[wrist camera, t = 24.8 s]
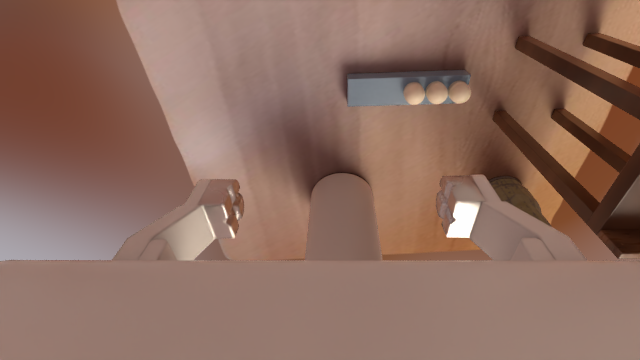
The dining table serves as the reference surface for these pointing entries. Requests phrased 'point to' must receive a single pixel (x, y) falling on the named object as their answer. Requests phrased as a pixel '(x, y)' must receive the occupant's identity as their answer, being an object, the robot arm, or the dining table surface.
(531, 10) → the dining table surface
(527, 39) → the crate stand
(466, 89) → the egg holder
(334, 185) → the cylinder vase
